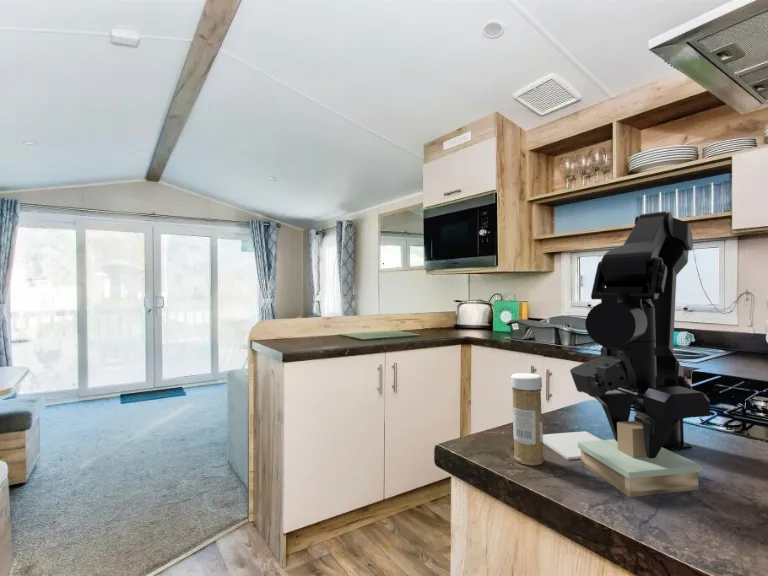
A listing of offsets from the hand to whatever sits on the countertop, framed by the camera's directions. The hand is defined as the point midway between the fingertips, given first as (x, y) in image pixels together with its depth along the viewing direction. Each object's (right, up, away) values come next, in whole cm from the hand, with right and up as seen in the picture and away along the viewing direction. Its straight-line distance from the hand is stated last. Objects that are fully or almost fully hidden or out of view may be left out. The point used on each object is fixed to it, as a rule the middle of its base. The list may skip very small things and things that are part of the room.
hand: (634, 449), depth 58 cm
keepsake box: (0, -4, 0) cm, 4 cm away
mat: (-3, -4, +12) cm, 13 cm away
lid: (0, -1, 0) cm, 1 cm away
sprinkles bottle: (-13, -4, +6) cm, 15 cm away
